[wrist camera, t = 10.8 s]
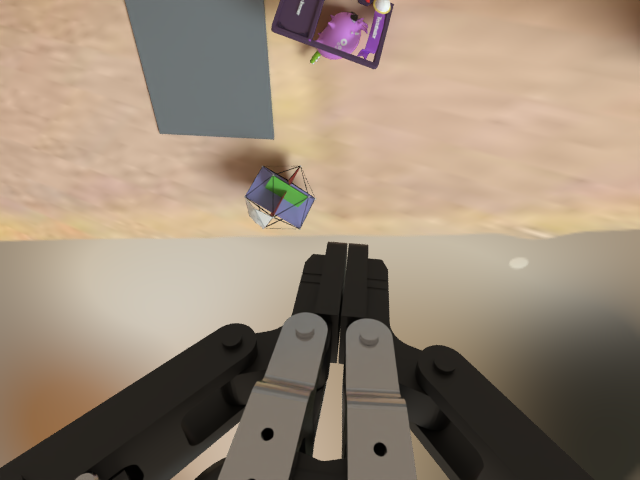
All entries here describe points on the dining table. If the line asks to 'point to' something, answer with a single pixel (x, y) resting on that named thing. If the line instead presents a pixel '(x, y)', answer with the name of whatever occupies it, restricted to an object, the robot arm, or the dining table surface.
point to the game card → (334, 29)
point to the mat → (205, 65)
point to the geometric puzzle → (278, 199)
